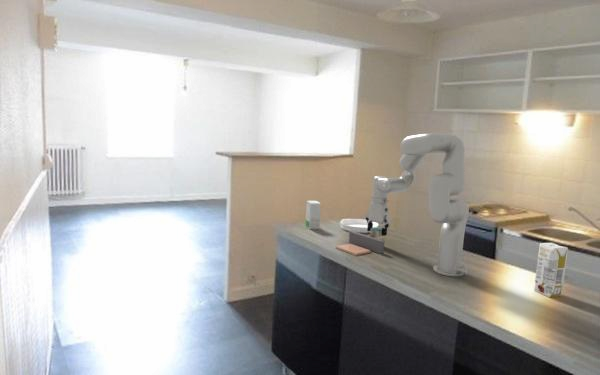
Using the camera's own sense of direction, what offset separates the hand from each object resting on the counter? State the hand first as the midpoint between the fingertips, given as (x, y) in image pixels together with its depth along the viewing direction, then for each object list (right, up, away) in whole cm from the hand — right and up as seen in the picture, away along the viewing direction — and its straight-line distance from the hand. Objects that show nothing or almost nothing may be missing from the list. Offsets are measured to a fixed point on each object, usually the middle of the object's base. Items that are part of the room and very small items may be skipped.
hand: (376, 233), depth 219 cm
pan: (-4, -2, +36) cm, 37 cm away
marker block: (0, -7, +1) cm, 7 cm away
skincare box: (-32, -1, +34) cm, 46 cm away
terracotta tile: (-14, -7, -10) cm, 18 cm away
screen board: (-6, -7, -4) cm, 10 cm away
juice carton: (+55, -17, -56) cm, 80 cm away
